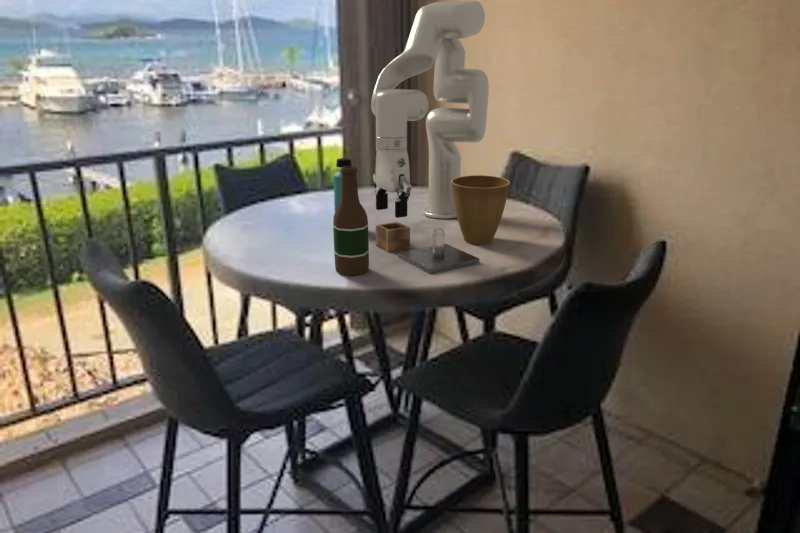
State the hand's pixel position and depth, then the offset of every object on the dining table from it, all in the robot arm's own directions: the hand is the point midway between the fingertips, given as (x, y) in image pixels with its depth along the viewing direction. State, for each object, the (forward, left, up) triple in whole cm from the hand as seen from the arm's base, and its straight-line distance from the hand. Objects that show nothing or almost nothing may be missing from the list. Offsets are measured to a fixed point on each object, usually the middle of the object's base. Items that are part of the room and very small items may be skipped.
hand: (391, 213), depth 157 cm
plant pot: (-23, +7, -9) cm, 25 cm away
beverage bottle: (+2, -21, -9) cm, 23 cm away
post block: (-5, +15, -9) cm, 18 cm away
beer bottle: (+16, +11, -9) cm, 22 cm away
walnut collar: (-1, 0, -9) cm, 9 cm away
